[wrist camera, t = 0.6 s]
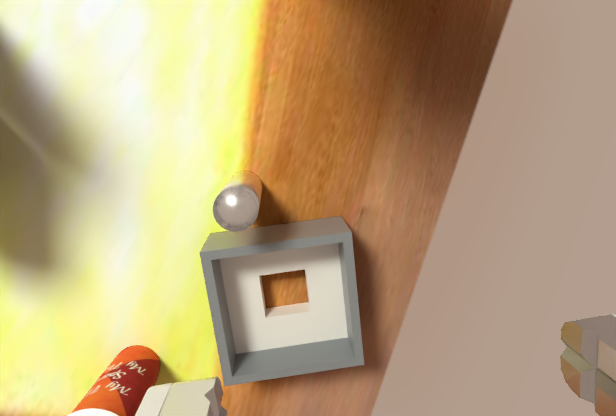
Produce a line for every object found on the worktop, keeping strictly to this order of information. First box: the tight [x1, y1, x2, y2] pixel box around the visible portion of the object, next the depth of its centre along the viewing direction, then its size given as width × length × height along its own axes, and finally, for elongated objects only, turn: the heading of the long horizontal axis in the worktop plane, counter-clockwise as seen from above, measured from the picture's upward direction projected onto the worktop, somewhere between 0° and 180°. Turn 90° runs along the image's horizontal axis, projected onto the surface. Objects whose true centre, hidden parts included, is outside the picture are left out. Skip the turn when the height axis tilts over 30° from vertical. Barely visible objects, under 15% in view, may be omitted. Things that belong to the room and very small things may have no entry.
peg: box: [213, 171, 262, 232], centre depth 41 cm, size 4×4×12 cm
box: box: [200, 216, 364, 386], centre depth 47 cm, size 16×16×7 cm
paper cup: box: [68, 345, 160, 416], centre depth 44 cm, size 8×8×14 cm
